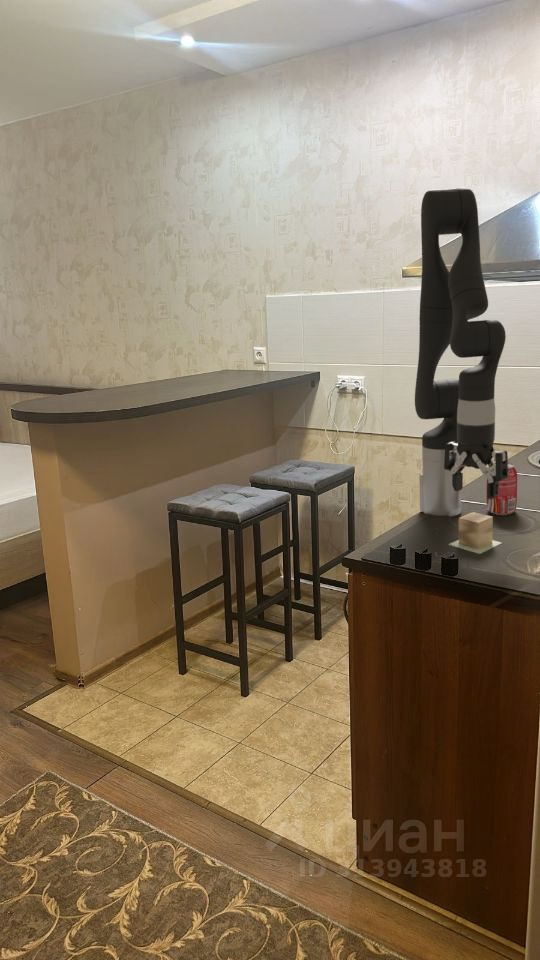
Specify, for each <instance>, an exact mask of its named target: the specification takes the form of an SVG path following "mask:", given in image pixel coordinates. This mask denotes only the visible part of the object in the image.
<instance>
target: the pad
mask: <svg viewBox="0 0 540 960" xmlns="http://www.w3.org/2000/svg"><path fill="white" fill-rule="evenodd" d="M502 544H503V542H501V541H497V540H494V539H492V543H491V544H489V545H487V546H485V547H483V548H481V549H479V550H478V549H475V548H471V547H468V546H464V545H461V544H459V539H457V540H454V541H453V542H450V543H448V546H451V547H454V548H458V549H461V550H465V551H467V552H471V553H472V552H473V553H475V554H478V555H480V554H483V553H486V552H487V551H489V550H492V549H493V548H495V547H498V546H500V545H502Z"/></svg>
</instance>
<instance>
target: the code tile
mask: <svg viewBox="0 0 540 960" xmlns="http://www.w3.org/2000/svg"><path fill="white" fill-rule="evenodd" d="M447 554H449V557H450V556H453V554H456V552H450V551H449V552H447ZM434 557H435V558H437V557H438V558H443V555H438V552H437V551H435V553H434Z"/></svg>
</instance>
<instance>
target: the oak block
mask: <svg viewBox="0 0 540 960" xmlns="http://www.w3.org/2000/svg"><path fill="white" fill-rule="evenodd" d="M493 517H494V516H491V515H486V514H483V513H478V512H474V511H472V512H469V513H467V514H465V515H462V516H460V517H458V540H459V544H461V545H464V546H468V547H471V548H475V549H478V550H479V549H481V548H483V547H485V546H487V545H489V544H491V543H492V540H493V527H494V526H493V525H494V524H493V523H494V522H493V521H494V519H493Z"/></svg>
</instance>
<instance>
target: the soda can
mask: <svg viewBox="0 0 540 960" xmlns="http://www.w3.org/2000/svg"><path fill="white" fill-rule="evenodd" d="M494 464H495V462H494ZM495 465H496V464H495ZM515 466H516V465H515V464H514V463H512V462H508V478H507V479H504V480H502V481H499V490H498V496H496V498H494V499H488V498H487V497H486V510H487V511H488V512H490V513H491V514H492V513H493V514H492V515H495V514H496V515H495V516H509V515H511V514H513V513H514V512H516V510H517V504H518V501H517V500H518V471H517V470H516V468H515ZM488 482H489V481H488V479H487V478H486V493H487V492H488ZM508 514H509V515H508Z"/></svg>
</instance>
